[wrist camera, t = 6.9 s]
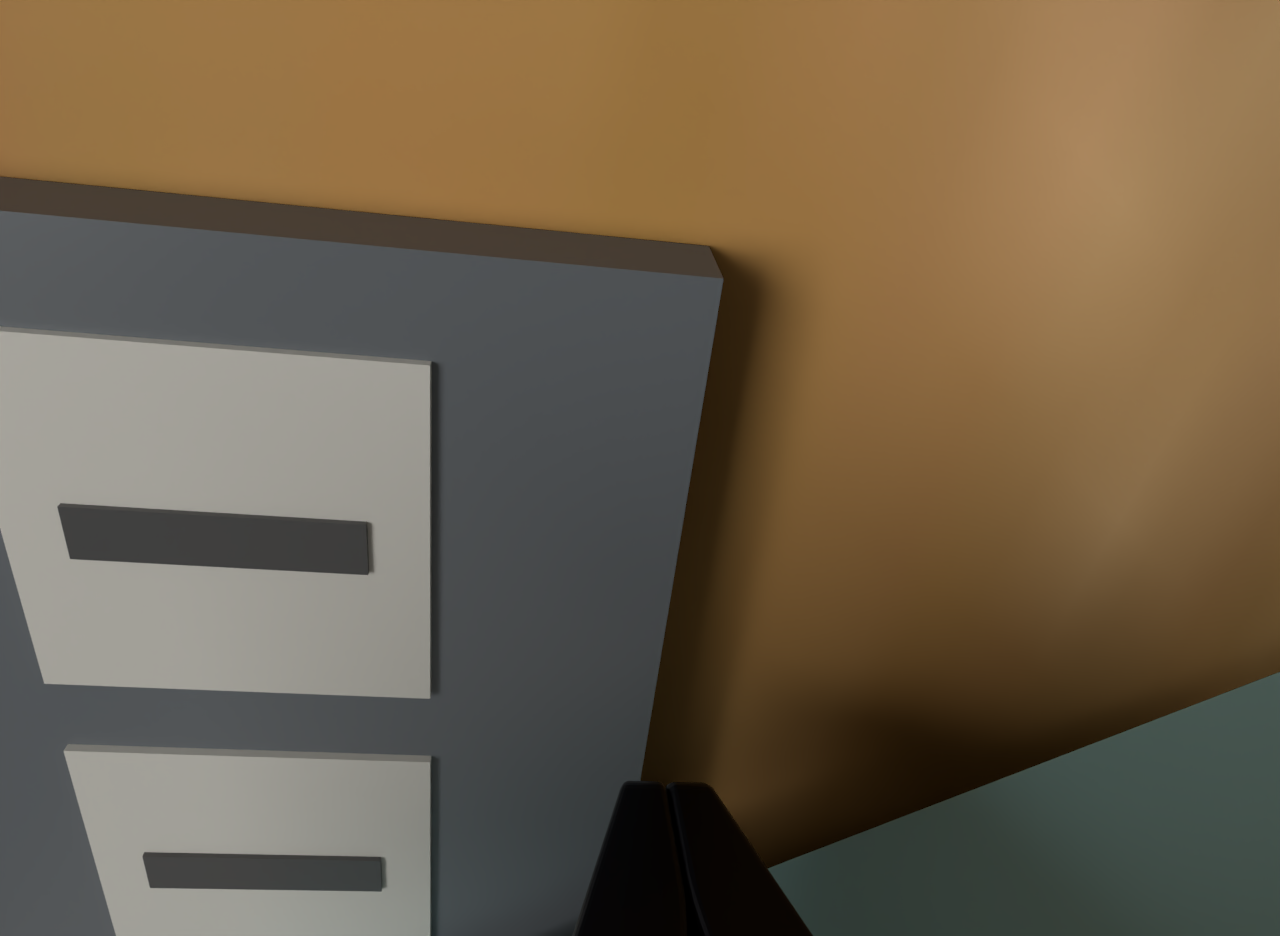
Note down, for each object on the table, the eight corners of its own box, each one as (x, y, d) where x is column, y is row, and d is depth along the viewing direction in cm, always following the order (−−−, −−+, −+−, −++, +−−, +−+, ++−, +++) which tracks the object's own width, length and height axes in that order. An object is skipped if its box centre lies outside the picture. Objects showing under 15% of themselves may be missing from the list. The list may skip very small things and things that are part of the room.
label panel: (-13, 929, 13) (-61, 1011, 12) (-325, 144, 8) (-461, 173, 7) (601, 935, 14) (604, 1011, 13) (709, 245, 9) (726, 284, 8)
